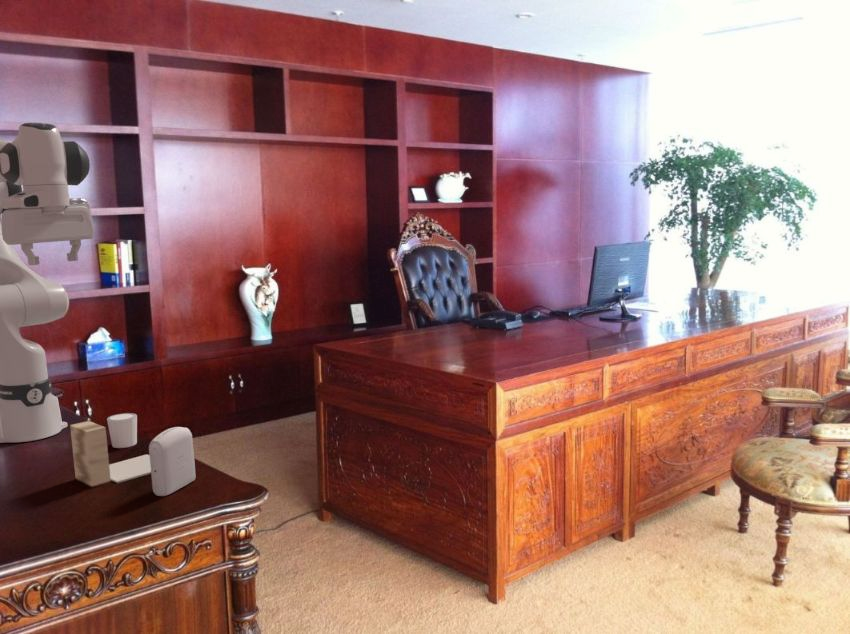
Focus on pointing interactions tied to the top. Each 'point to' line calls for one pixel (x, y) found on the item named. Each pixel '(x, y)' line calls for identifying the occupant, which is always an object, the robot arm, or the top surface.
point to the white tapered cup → (123, 430)
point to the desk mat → (130, 468)
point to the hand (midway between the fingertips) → (53, 263)
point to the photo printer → (172, 460)
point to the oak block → (90, 453)
